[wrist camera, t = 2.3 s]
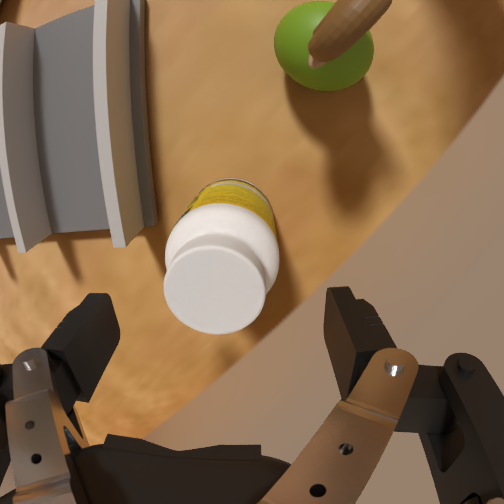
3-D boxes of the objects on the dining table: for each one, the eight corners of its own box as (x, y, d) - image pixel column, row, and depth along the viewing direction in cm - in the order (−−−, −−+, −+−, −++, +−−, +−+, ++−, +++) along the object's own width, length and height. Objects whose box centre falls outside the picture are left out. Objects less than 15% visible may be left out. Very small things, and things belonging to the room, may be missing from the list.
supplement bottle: (196, 170, 20) (149, 215, 11) (280, 184, 20) (302, 240, 11) (186, 247, 22) (146, 336, 13) (263, 260, 22) (270, 356, 13)
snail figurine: (378, 42, 16) (494, -10, 5) (326, 111, 18) (420, 106, 7) (310, -6, 15) (367, -111, 4) (254, 62, 17) (256, -14, 6)
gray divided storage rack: (-31, 70, 15) (-65, 71, 11) (145, -3, 15) (120, -28, 10) (-13, 236, 21) (-43, 256, 17) (158, 221, 21) (136, 246, 17)
